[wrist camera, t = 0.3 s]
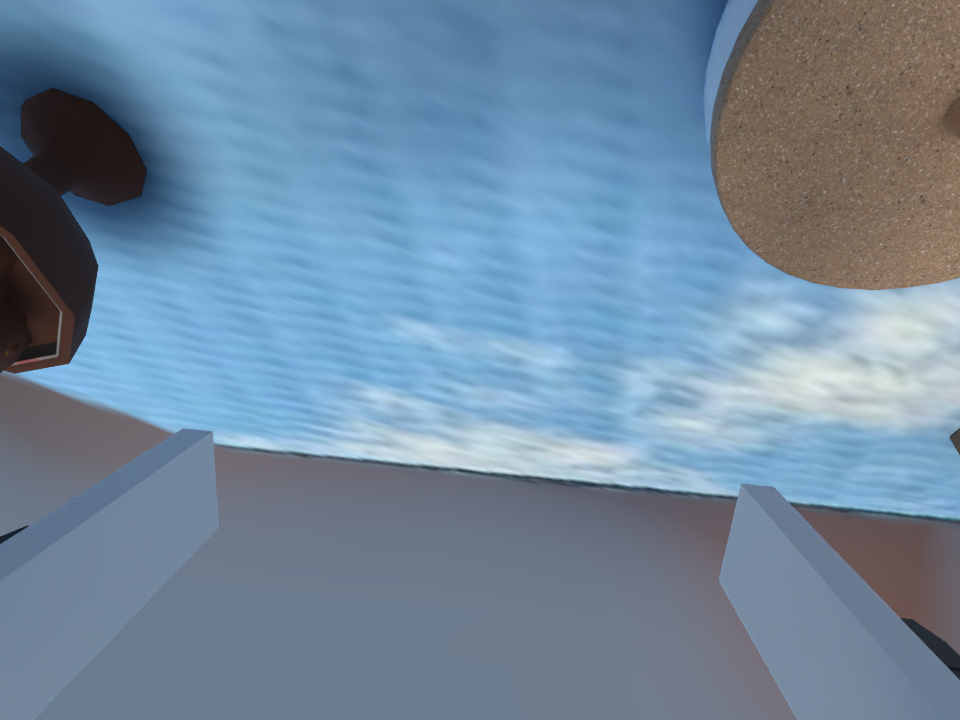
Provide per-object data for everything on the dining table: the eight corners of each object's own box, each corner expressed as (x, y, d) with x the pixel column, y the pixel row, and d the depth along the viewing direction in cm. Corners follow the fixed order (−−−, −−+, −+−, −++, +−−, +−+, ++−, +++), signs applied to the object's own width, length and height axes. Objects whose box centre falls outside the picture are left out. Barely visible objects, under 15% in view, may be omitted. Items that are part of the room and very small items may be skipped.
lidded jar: (953, 166, 20) (1126, 332, 14) (661, 178, 22) (691, 328, 16) (1188, -266, 12) (1830, -354, 6) (710, -189, 14) (809, -193, 8)
